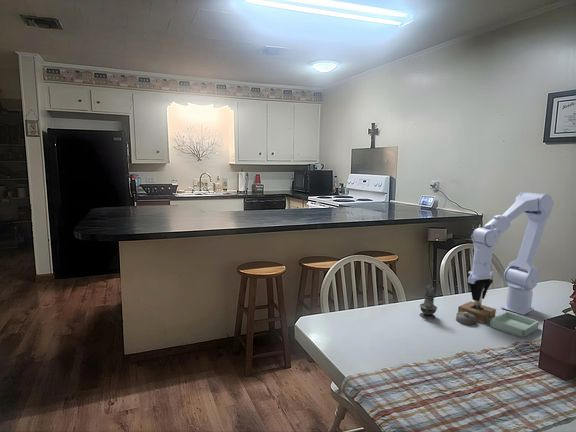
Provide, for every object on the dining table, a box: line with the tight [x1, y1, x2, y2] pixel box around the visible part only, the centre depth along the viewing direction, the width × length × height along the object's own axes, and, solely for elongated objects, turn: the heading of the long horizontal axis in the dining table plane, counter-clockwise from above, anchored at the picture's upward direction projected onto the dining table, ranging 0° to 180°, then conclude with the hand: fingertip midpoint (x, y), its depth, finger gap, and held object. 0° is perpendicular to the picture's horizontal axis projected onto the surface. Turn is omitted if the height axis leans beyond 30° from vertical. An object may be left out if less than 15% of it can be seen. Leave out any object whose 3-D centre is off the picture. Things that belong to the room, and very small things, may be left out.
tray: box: [489, 310, 540, 339], centre depth 124 cm, size 12×10×2 cm
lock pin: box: [473, 288, 485, 310], centre depth 132 cm, size 3×3×8 cm
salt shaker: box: [419, 283, 438, 320], centre depth 131 cm, size 6×6×12 cm
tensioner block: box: [455, 300, 497, 326], centre depth 131 cm, size 15×9×3 cm, turn 128°
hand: (478, 299), depth 132 cm, fingers closed on lock pin, 3 cm apart
